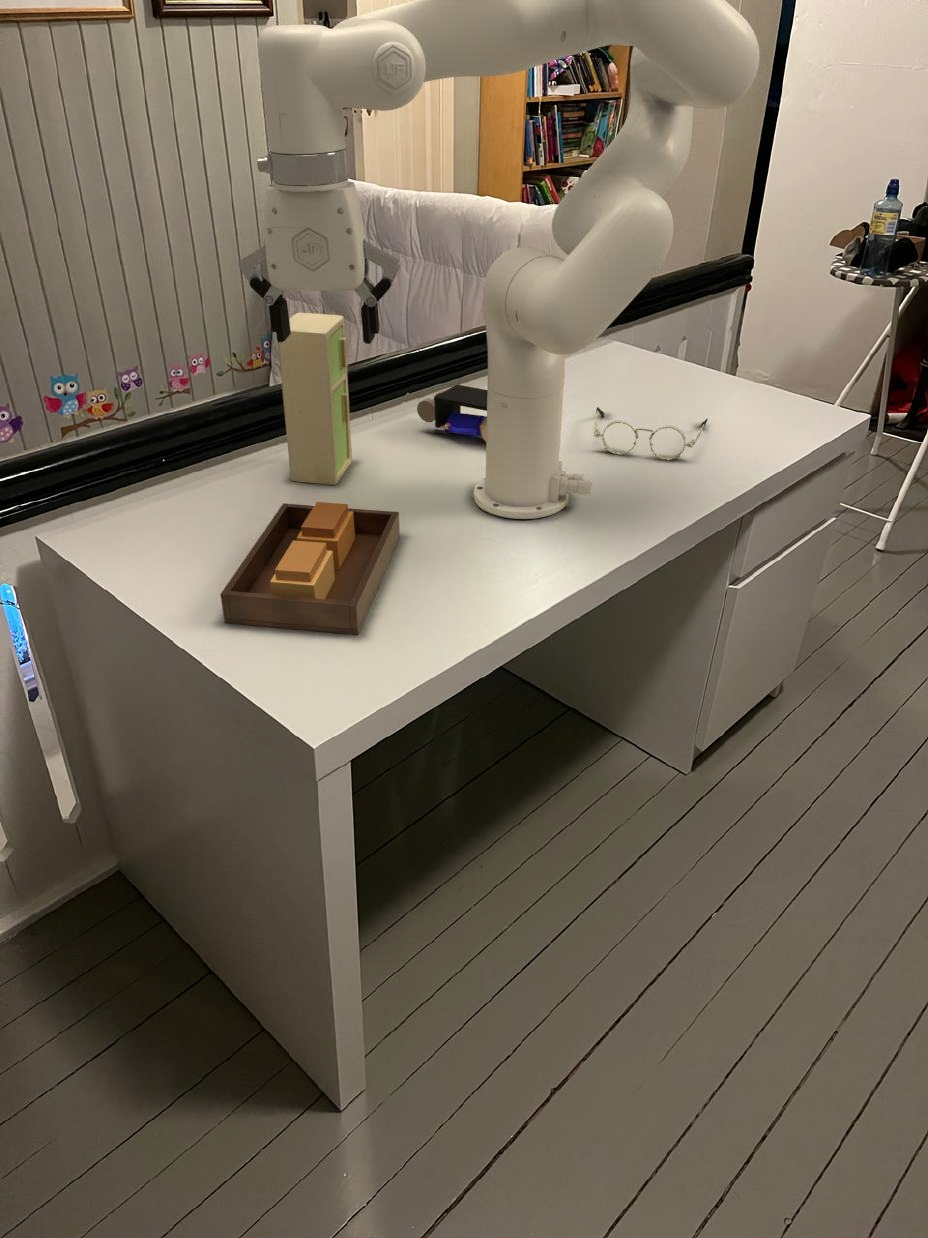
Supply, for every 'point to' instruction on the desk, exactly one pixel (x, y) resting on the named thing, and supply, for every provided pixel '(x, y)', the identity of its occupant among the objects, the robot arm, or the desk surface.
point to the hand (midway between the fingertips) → (326, 339)
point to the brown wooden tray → (346, 597)
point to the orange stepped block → (330, 529)
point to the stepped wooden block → (304, 571)
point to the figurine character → (456, 411)
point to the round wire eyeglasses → (649, 437)
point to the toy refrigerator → (316, 398)
